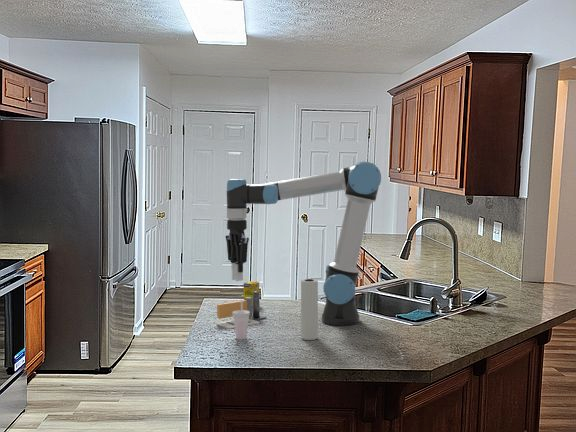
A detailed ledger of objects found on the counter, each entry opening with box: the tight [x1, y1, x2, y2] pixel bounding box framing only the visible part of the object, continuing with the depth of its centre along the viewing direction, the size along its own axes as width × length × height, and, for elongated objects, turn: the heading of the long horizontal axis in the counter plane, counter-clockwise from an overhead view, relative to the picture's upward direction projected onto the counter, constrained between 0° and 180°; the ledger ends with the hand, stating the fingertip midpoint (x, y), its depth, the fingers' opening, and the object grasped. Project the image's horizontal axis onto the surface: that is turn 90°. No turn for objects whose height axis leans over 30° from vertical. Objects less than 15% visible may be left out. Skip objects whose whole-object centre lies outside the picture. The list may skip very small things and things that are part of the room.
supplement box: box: [242, 280, 260, 309], centre depth 293 cm, size 6×6×11 cm
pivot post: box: [249, 290, 267, 321], centre depth 270 cm, size 6×6×11 cm
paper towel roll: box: [300, 278, 319, 341], centre depth 238 cm, size 7×6×21 cm
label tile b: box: [216, 320, 235, 330], centre depth 258 cm, size 9×6×1 cm, turn 37°
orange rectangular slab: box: [216, 297, 253, 319], centre depth 264 cm, size 16×2×8 cm, turn 127°
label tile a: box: [248, 319, 261, 327], centre depth 263 cm, size 9×6×1 cm, turn 37°
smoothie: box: [232, 299, 250, 340], centre depth 238 cm, size 6×6×14 cm
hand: (237, 279), depth 254 cm, fingers open, 2 cm apart
